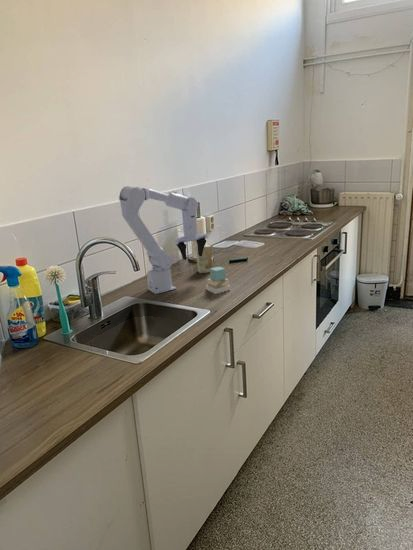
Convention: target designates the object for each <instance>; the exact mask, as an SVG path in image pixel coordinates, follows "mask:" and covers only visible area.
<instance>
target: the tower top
mask: <svg viewBox="0 0 413 550" xmlns="http://www.w3.org/2000/svg"><path fill="white" fill-rule="evenodd" d="M207 285H209V286H211V287H213V288H215V289H217V288H221V287H225V286H228V285H229V279H228V278H226V279H225V280H221V281H217V282H216V281H214V280H211V279H210V278H207Z"/></svg>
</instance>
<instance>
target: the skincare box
mask: <svg viewBox="0 0 413 550" xmlns="http://www.w3.org/2000/svg"><path fill="white" fill-rule="evenodd" d="M212 252H213V251H212V245H210V244H205V246H204V249H203V254H202V256H199V255H198V246H197V245H196V262H197V263H196V264H197V272H198V273H199V274H203V273H210V268H213V256H212V255H213V253H212Z"/></svg>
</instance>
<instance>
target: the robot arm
mask: <svg viewBox="0 0 413 550" xmlns="http://www.w3.org/2000/svg"><path fill="white" fill-rule="evenodd" d="M118 200H119V202H120V207H121V214H122V215H121V216H122V218H123V219H124V220H125V222H126V224H127V225H128V226H129V228H130V229H131V231H132V232H133V234H134V235H135V236H136V238H137V239H138V241H139V242H140V243H141V245H142V246H143V248H144V249H145V251H146V255H147V257H148V261H149V263H150V265H152V266H151V268H152V269H151V270H148V271H147V273H146V279H147V287H148V288H147V290H149V292H151V293H152V294H155V295H156V294H160V293H161V294H162V293H165V292H169V291H173V290H174V291H175V290H176V289H177V287H176V286H173V283H172V272H171V267H172V265H173V263H174V261H173V260H174V259H173V257H172V256H171V254H168V253H167V252H166V251H165V249H163V247H161V246H160V245H159V244H158V242H157V241H156V239H155V238H154V236H153V234H152V233H151V232H150V230H149V229H148V227H147V226H146V224H145V223H144V221H143V220H142V219H141V217H140V215H139V210H140V209H141V207H142V206H143V203H144V202H145V201H148V200H153V201H154V200H155V201H159V202H163V203H164V204H165V206H167V207H170V208H173V209H178V210H180V211H181V215H182V217H181V218H182V227H183V236H180V237H177V238H174V244H175V245H176V246H177V248H178V250H179V252H180V254H181V258H182V259H183V260H185V261H187V244H186V243H188V242H193V241H196V247H197V246H198V255H199V256H202V254H203V249H204V246H205V245H207V244H206V243H207V239H208V233H204V232H203V233H198V223H197V221H198V220H197V210H198V208H199V203H198V201H197V199H196V198H195V197H190V196H187V195H186V194H180V193H178V192H177V191H175V190H173V191H171V192H168V193H164V192H161V191H157V190H155V189H151V188H147V187H139V186H136V187H135V186H129V185H127V186H123V187H122V189H121V190H120V192H119V197H118Z"/></svg>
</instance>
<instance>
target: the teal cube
mask: <svg viewBox="0 0 413 550" xmlns="http://www.w3.org/2000/svg"><path fill="white" fill-rule="evenodd" d="M209 275H210V276H209V279H211V280H214V281H216V282H217V281H221V280H225V279H227V277H226V268H224V267H221V266H215V267H212V268H210V272H209Z"/></svg>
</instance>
